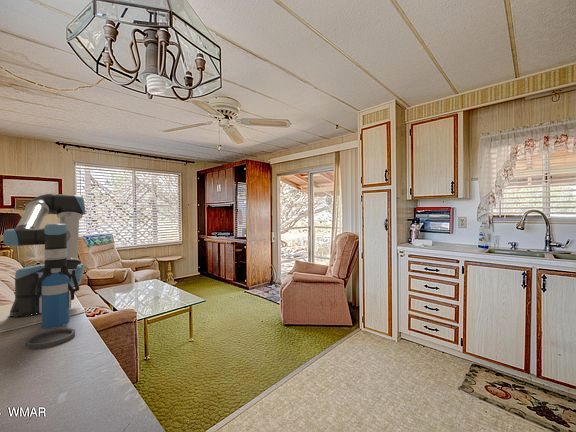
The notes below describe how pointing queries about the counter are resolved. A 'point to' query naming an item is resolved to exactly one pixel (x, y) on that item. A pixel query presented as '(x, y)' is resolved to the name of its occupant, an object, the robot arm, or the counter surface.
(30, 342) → the coaster ring
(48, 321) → the water bottle
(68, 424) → the counter surface
